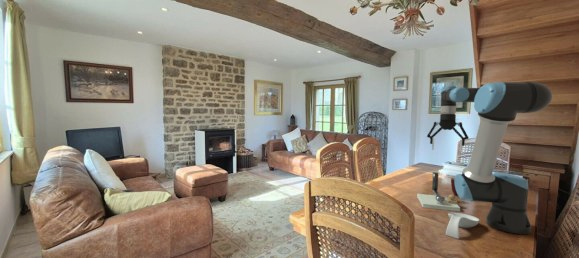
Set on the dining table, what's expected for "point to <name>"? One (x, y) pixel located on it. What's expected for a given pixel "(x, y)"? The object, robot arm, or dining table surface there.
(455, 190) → the mug
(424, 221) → the dining table surface
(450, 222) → the spoon rest
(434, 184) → the lever
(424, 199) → the board
